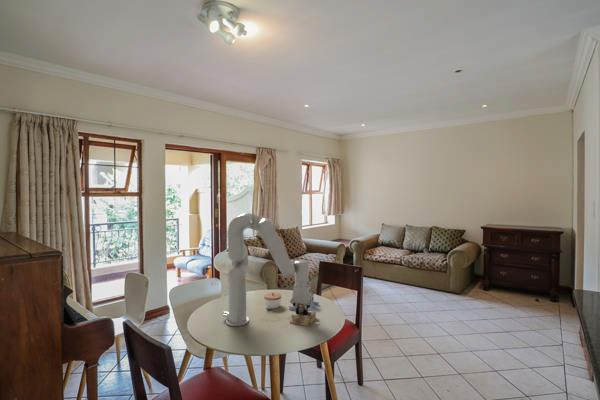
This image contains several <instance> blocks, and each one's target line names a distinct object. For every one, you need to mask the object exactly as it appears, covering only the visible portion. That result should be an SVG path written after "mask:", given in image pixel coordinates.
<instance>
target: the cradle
mask: <svg viewBox="0 0 600 400" xmlns="http://www.w3.org/2000/svg"><path fill="white" fill-rule="evenodd" d="M316 312H317V311H315V312H314V311H308V314H307V316H306V315H299V314H296V313H292V314H291V319H290V321H289V324H292V325H293V324H295V325H300V326H306V327H312V325H313V324H314V322H315V320H316V318H317V315H316V314H317V313H316Z"/></svg>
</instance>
